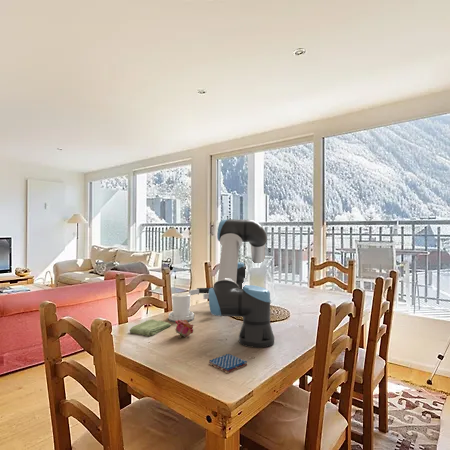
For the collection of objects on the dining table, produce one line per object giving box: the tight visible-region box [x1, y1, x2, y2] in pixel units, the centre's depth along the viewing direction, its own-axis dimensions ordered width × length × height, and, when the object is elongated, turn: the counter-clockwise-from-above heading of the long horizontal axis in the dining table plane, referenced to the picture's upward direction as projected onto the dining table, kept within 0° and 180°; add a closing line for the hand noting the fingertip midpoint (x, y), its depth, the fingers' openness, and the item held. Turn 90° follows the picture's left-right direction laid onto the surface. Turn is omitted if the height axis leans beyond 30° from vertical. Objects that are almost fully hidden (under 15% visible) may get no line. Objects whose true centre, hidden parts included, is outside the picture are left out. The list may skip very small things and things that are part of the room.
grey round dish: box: [168, 311, 195, 323], centre depth 176 cm, size 13×13×3 cm
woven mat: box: [208, 353, 248, 374], centre depth 119 cm, size 10×11×2 cm
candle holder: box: [171, 292, 192, 317], centre depth 175 cm, size 10×10×12 cm
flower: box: [174, 320, 194, 339], centre depth 147 cm, size 10×9×8 cm
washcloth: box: [129, 319, 172, 337], centre depth 158 cm, size 13×18×3 cm
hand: (196, 294), depth 182 cm, fingers open, 13 cm apart
